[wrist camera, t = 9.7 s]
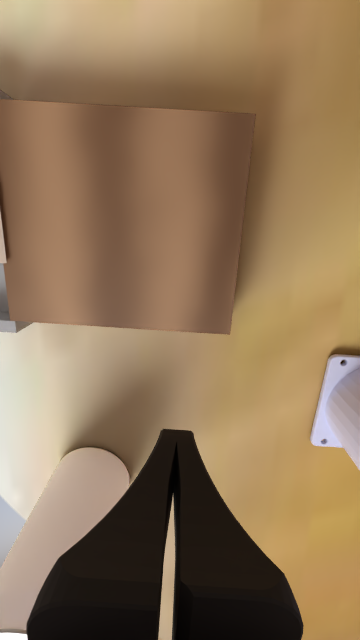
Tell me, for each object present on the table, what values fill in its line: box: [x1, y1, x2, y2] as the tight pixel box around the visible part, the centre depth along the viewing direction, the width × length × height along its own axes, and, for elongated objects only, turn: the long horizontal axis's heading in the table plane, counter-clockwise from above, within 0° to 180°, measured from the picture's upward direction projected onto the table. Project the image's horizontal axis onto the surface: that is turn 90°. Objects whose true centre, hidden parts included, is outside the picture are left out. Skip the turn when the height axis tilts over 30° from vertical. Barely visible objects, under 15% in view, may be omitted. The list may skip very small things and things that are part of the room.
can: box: [0, 447, 129, 640], centre depth 20 cm, size 6×6×12 cm
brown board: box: [0, 99, 256, 335], centre depth 18 cm, size 14×12×3 cm
